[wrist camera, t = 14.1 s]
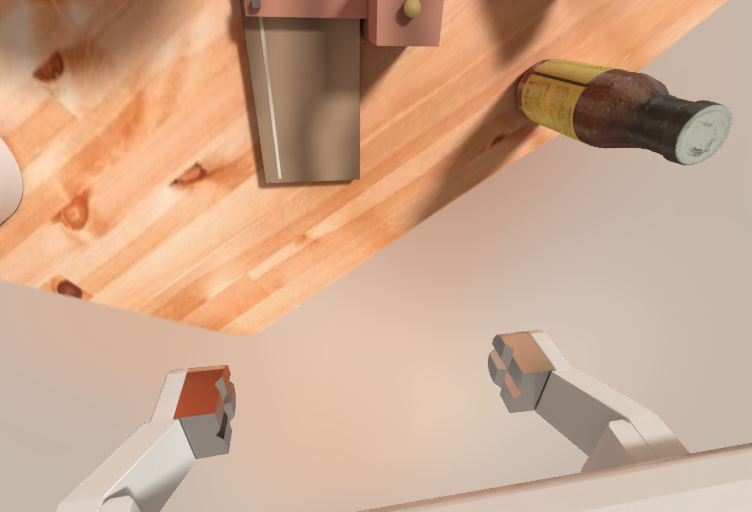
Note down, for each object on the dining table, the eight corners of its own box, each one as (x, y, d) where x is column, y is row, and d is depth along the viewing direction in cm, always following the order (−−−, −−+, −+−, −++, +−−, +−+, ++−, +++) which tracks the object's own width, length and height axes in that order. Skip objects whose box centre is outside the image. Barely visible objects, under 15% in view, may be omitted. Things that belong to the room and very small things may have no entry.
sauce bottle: (533, 130, 44) (671, 206, 28) (501, 93, 41) (635, 153, 25) (580, 82, 42) (760, 134, 26) (550, 40, 39) (731, 68, 23)
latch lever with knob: (252, 36, 35) (240, 45, 27) (243, -34, 32) (226, -44, 25) (413, 38, 37) (441, 47, 30) (418, -26, 34) (450, -34, 27)
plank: (266, 177, 42) (265, 183, 41) (229, -91, 30) (226, -95, 29) (357, 174, 43) (359, 179, 42) (357, -83, 31) (360, -86, 30)
